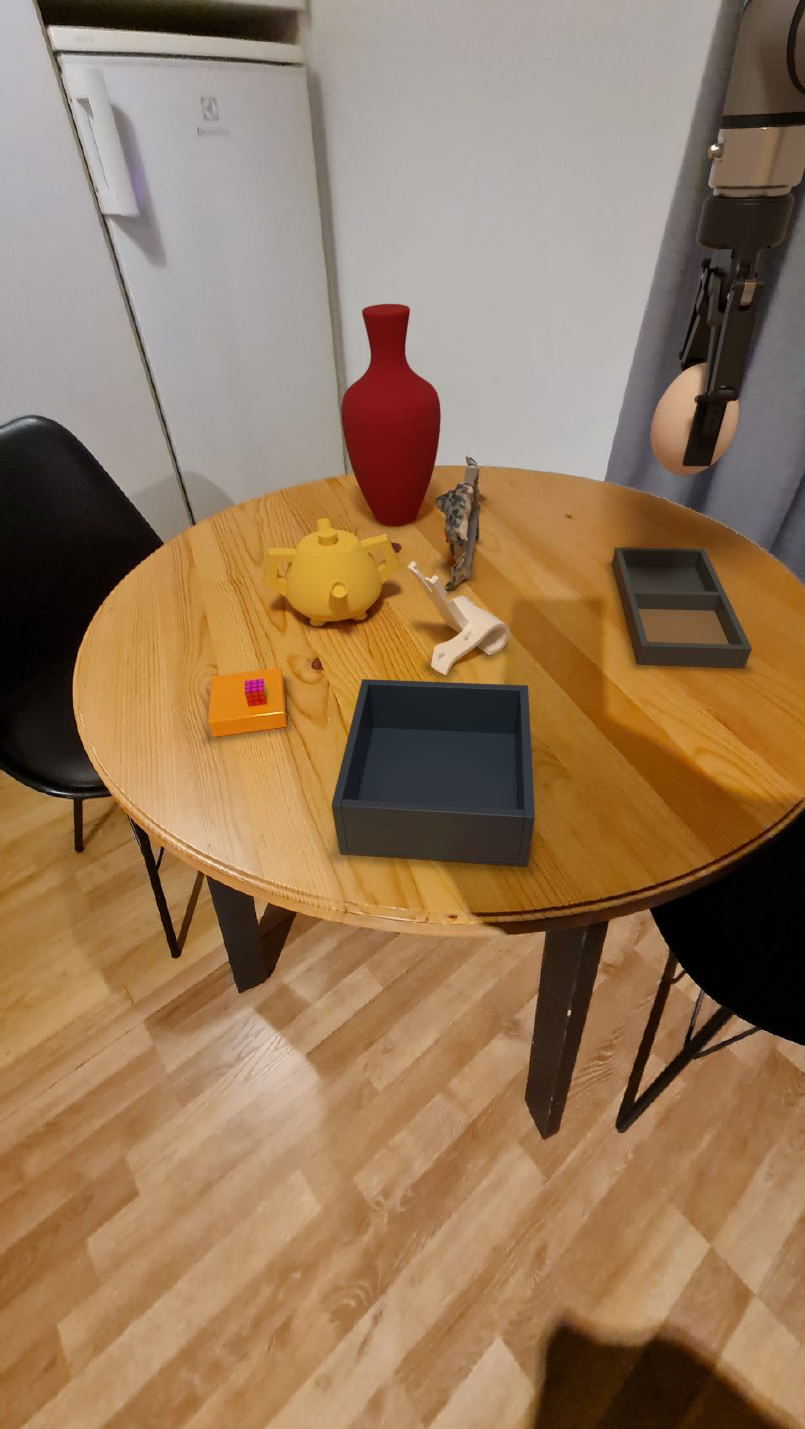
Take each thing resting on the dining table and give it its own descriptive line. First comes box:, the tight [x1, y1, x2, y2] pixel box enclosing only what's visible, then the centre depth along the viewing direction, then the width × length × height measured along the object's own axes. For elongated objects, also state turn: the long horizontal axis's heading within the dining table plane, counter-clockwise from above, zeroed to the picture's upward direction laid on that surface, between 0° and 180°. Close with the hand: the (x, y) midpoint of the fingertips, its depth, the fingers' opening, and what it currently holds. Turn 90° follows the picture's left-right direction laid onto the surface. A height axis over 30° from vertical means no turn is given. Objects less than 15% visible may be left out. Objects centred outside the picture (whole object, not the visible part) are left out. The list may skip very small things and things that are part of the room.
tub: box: [330, 678, 536, 868], centre depth 62 cm, size 17×17×7 cm
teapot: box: [262, 517, 401, 627], centre depth 85 cm, size 20×18×11 cm
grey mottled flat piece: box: [434, 456, 482, 591], centre depth 91 cm, size 15×4×13 cm, turn 168°
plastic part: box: [407, 560, 511, 676], centre depth 77 cm, size 8×10×12 cm
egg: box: [649, 363, 740, 476], centre depth 71 cm, size 9×9×12 cm
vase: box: [340, 303, 442, 527], centre depth 98 cm, size 15×15×30 cm
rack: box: [611, 546, 753, 669], centre depth 84 cm, size 12×23×3 cm, turn 174°
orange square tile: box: [207, 667, 288, 738], centre depth 72 cm, size 8×8×4 cm
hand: (687, 448), depth 73 cm, fingers closed on egg, 9 cm apart
